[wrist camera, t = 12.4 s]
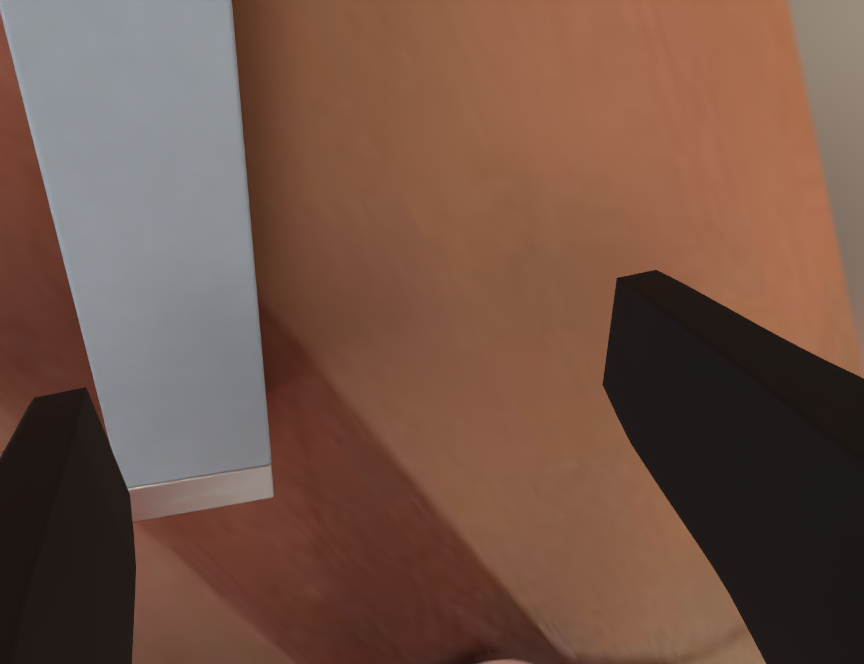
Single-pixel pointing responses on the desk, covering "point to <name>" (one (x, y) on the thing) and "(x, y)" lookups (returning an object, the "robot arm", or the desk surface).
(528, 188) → the desk surface
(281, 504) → the desk surface
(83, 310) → the stapler
